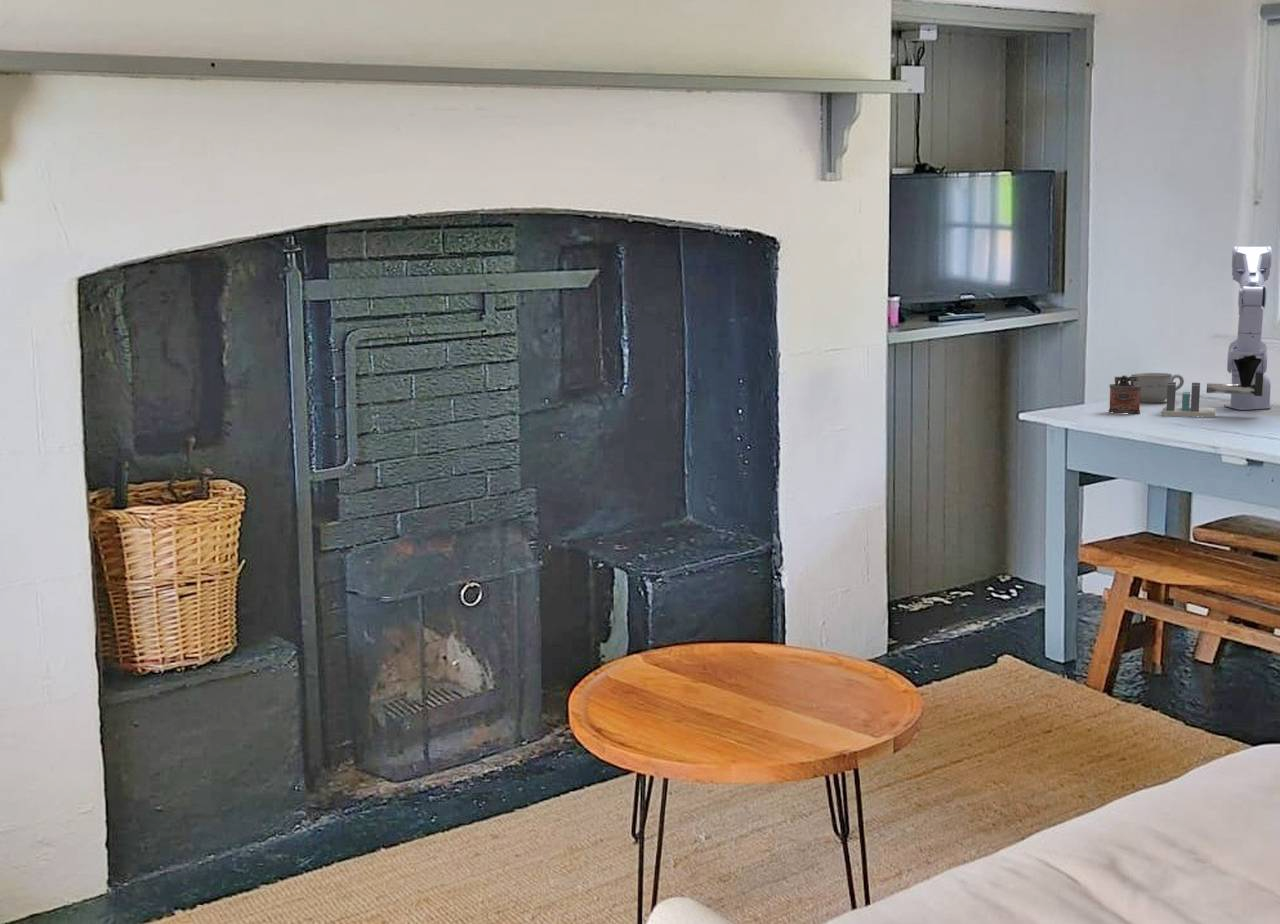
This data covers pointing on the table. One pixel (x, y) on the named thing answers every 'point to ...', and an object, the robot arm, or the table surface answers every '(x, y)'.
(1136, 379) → the lighter
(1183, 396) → the spacer
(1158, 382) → the teacup
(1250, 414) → the table surface
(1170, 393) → the shaft stand
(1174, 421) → the table surface
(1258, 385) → the shaft
